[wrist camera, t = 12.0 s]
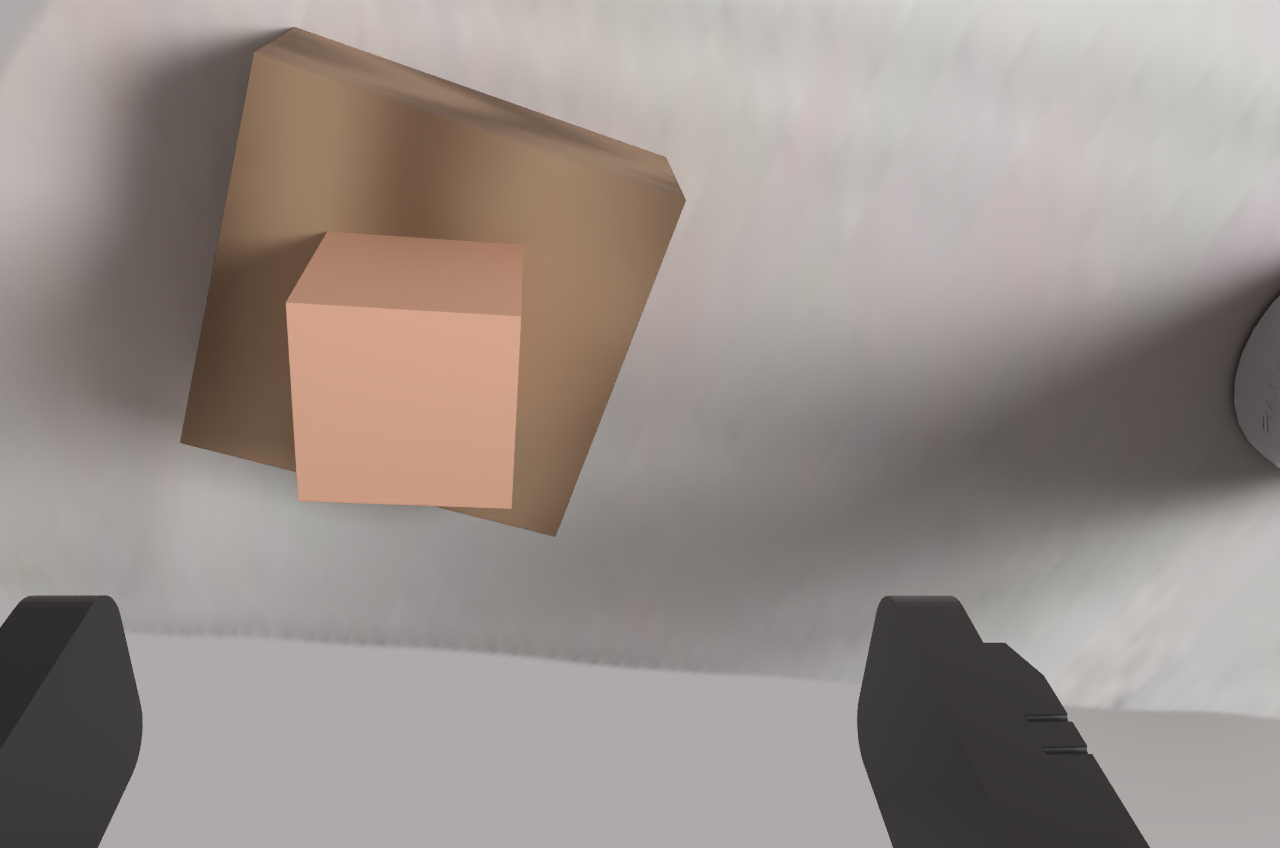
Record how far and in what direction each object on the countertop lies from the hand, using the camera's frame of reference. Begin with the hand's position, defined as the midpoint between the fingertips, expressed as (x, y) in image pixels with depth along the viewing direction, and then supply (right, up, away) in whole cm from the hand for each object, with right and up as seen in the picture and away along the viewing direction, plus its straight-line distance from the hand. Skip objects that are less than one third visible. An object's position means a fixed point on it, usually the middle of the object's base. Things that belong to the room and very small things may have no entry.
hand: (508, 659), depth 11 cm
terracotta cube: (-4, +5, +17) cm, 18 cm away
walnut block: (-5, +8, +21) cm, 23 cm away
